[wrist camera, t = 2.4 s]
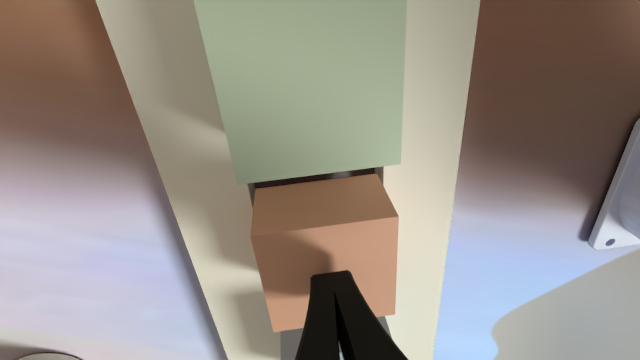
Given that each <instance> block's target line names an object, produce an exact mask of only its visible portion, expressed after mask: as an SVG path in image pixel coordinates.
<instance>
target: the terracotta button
mask: <svg viewBox="0 0 640 360" xmlns="http://www.w3.org/2000/svg"><path fill="white" fill-rule="evenodd" d="M398 225H399V216H398V214H397V212H396V210H395V208H394V206H393V204H392V202H391V200H390V198H389V196H388V194H387V192H386V190H385V188H384V186H383V184H382V182H381V180H380V178H379V176H378V174H377V173H376V174H368V175H360V176H353V177H345V178H337V179H329V180H321V181H313V182H305V183H297V184H289V185H281V186H274V187H266V188H258V189H255V198H254V207H253V216H252V225H251V234H250V237H251V241H252V245H253V250H254V254H255V258H256V262H257V266H258V270H259V274H260V278H261V283H262V287H263V291H264V295H265V299H266V303H267V307H268V312H269V316H270V320H271V324H272V328H273V332H278V331H285V330H292V329H299V328H304V324H305V319H306V314H307V310H308V303H309V297H310V284H311V282H310V277H312V276H313V275H316V274H323V273H330V272H337V271H344V270H348V271H350V272H351V274H352V276H353V278H354V280H355V283H356V285H357V286H358V288H359V290H360V292H361V294H362V295H363V297H364V299H365V301H366V302H367V304H368V305H369V307H370V309H371V310H372V312H373V313H374V315H375V316H376V317H381V316H388V315H395V305H396V278H397V251H398Z"/></svg>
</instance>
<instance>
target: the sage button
mask: <svg viewBox="0 0 640 360" xmlns="http://www.w3.org/2000/svg"><path fill="white" fill-rule="evenodd" d="M193 1H194V5H195V10H196V14H197V18H198V22H199V26H200V30H201V34H202V39H203V43H204V47H205V51H206V55H207V59H208V63H209V67H210V72H211V76H212V80H213V84H214V88H215V92H216V96H217V101H218V105H219V109H220V113H221V117H222V121H223V125H224V130H225V134H226V138H227V142H228V146H229V150H230V154H231V159H232V163H233V167H234V171H235V175H236V179H237V183H238V185H240V184H248V183H256V182H264V181H271V180H279V179H287V178H295V177H303V176H311V175H319V174H327V173H335V172H343V171H351V170H359V169H367V168H375V167H383V166H391V165H399V164H401V144H402V118H403V91H404V64H405V37H406V11H407V0H193Z"/></svg>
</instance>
